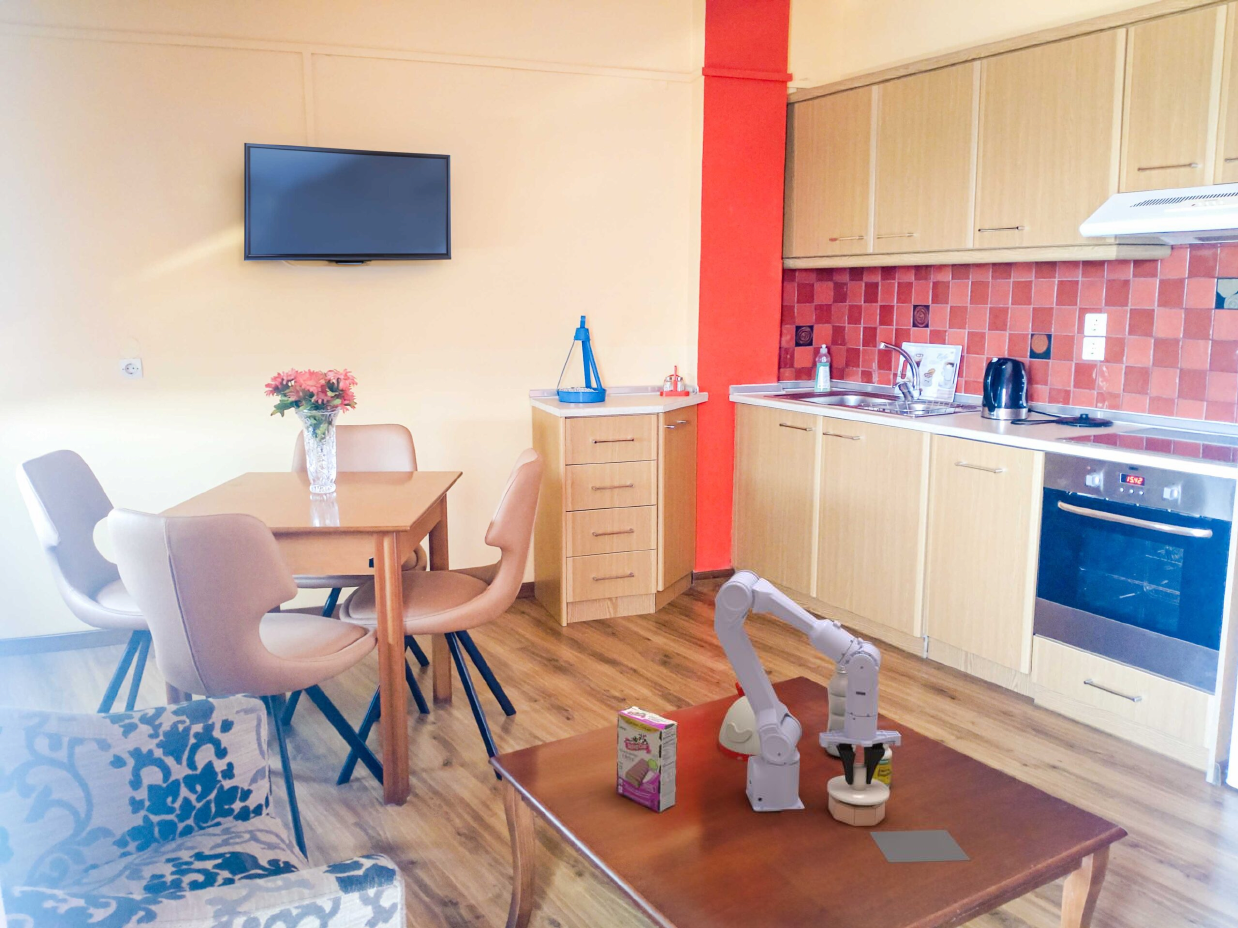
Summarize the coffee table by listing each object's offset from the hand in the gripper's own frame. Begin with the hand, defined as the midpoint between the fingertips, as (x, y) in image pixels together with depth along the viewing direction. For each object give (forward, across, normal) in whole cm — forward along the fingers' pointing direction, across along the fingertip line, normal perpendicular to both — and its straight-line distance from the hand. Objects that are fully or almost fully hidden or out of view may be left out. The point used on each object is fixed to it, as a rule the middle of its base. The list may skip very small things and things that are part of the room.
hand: (857, 782), depth 177 cm
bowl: (+6, 0, 0) cm, 6 cm away
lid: (+2, 0, 0) cm, 2 cm away
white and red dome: (+7, -13, +30) cm, 33 cm away
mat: (+6, +7, -12) cm, 15 cm away
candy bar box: (+7, -38, +8) cm, 39 cm away
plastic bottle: (+7, +5, +26) cm, 27 cm away
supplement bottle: (+7, +8, +12) cm, 16 cm away
